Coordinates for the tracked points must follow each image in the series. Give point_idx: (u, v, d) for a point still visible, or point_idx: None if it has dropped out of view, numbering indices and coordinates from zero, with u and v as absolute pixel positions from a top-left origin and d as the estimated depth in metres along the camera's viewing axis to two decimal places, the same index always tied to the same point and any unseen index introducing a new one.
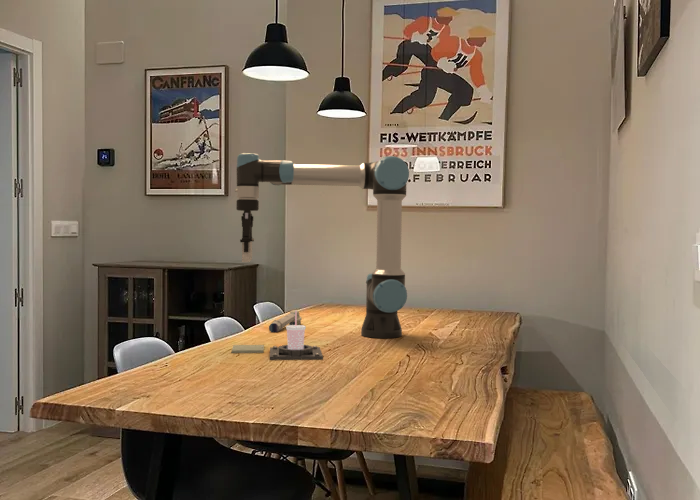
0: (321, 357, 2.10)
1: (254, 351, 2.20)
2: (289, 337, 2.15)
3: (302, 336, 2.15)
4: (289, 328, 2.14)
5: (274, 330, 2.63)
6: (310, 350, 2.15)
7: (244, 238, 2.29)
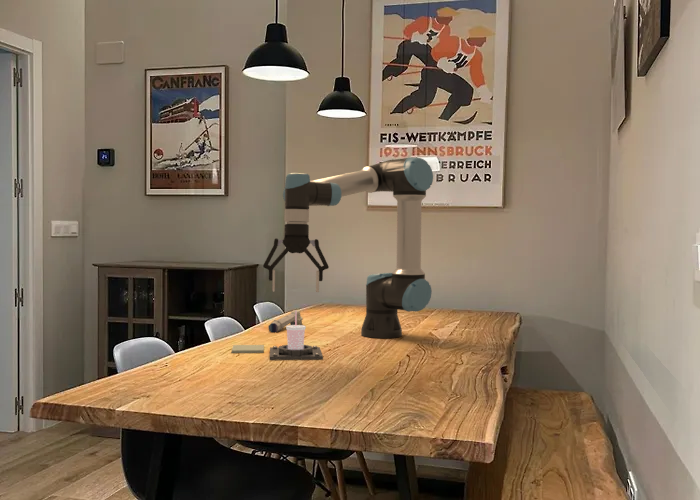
0: (321, 357, 2.10)
1: (254, 351, 2.20)
2: (289, 337, 2.15)
3: (302, 336, 2.15)
4: (289, 328, 2.14)
5: (273, 330, 2.63)
6: (310, 350, 2.15)
7: None
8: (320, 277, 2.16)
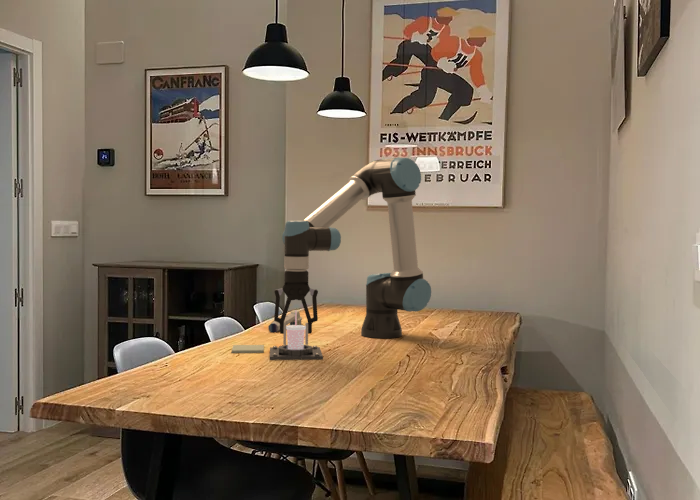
0: (321, 357, 2.10)
1: (254, 351, 2.20)
2: (289, 337, 2.15)
3: (302, 336, 2.15)
4: (289, 328, 2.14)
5: (273, 330, 2.62)
6: (310, 350, 2.15)
7: None
8: (309, 329, 2.17)
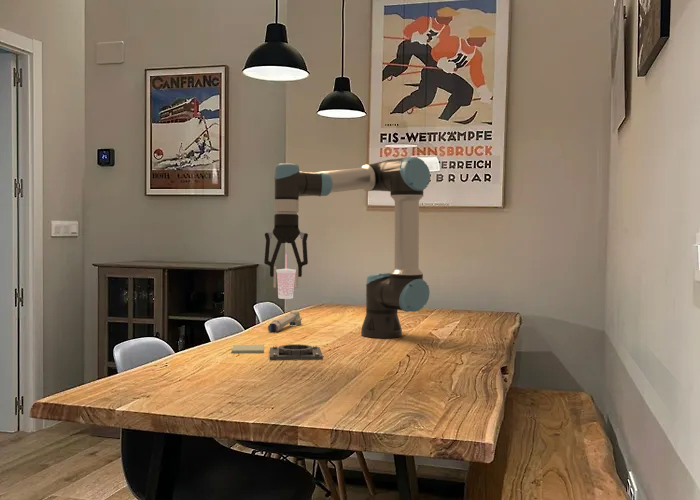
0: (321, 357, 2.10)
1: (254, 351, 2.20)
2: (279, 280, 2.16)
3: (292, 279, 2.16)
4: (279, 271, 2.15)
5: (273, 330, 2.62)
6: (310, 350, 2.15)
7: None
8: (299, 273, 2.18)
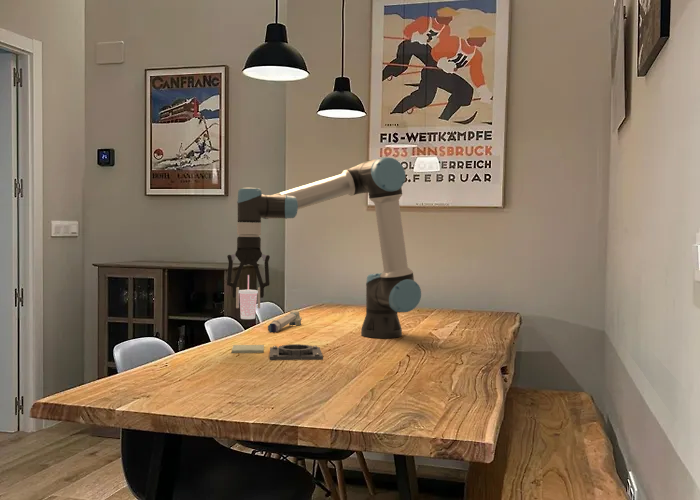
0: (321, 357, 2.10)
1: (254, 351, 2.20)
2: (241, 301, 2.22)
3: (254, 300, 2.22)
4: (241, 292, 2.21)
5: (273, 330, 2.62)
6: (310, 350, 2.15)
7: None
8: (261, 294, 2.24)
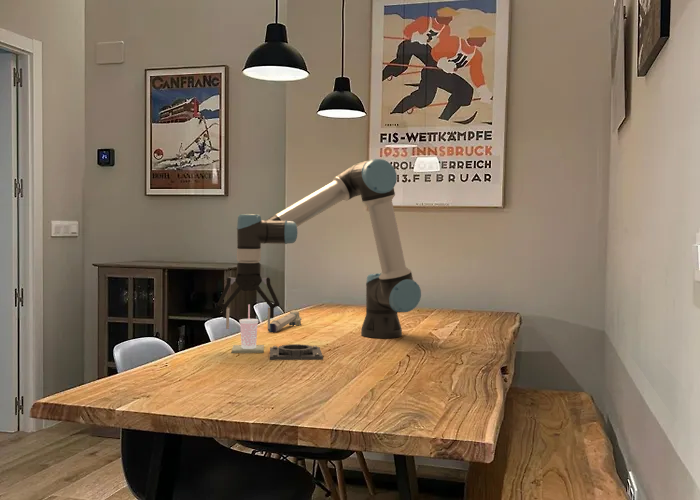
0: (321, 357, 2.10)
1: (254, 351, 2.20)
2: (242, 330, 2.22)
3: (255, 329, 2.23)
4: (242, 321, 2.22)
5: (273, 330, 2.62)
6: (310, 350, 2.15)
7: None
8: (271, 314, 2.24)
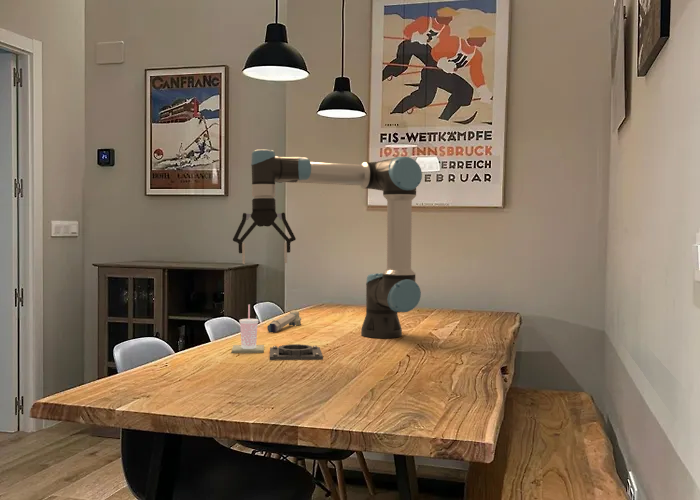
0: (321, 357, 2.10)
1: (254, 351, 2.20)
2: (242, 330, 2.22)
3: (255, 329, 2.23)
4: (242, 321, 2.22)
5: (272, 330, 2.62)
6: (310, 350, 2.15)
7: None
8: (288, 249, 2.26)
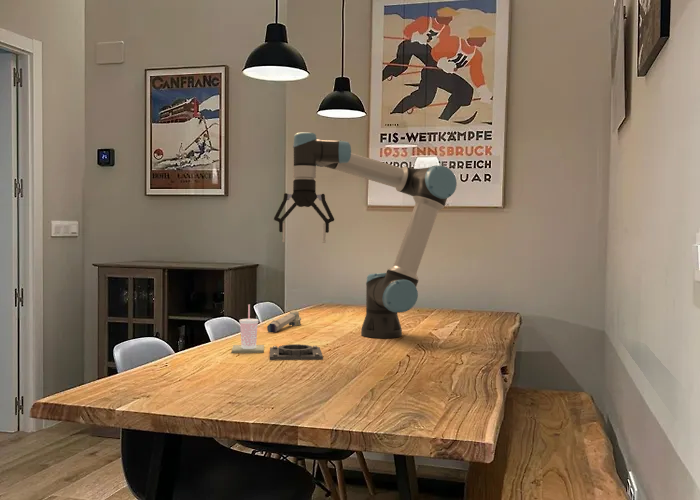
0: (321, 357, 2.10)
1: (254, 351, 2.20)
2: (242, 330, 2.22)
3: (255, 329, 2.23)
4: (242, 321, 2.22)
5: (272, 330, 2.61)
6: (310, 350, 2.15)
7: None
8: (326, 229, 2.34)
